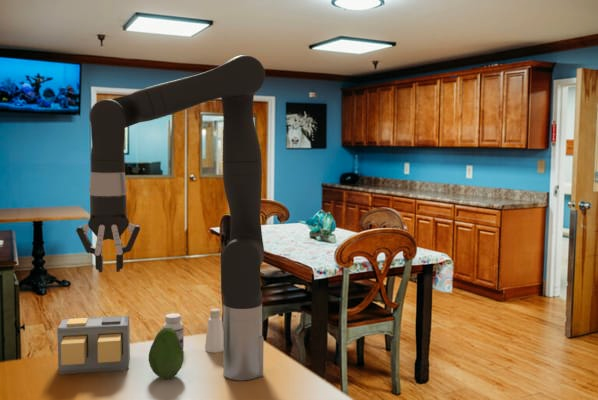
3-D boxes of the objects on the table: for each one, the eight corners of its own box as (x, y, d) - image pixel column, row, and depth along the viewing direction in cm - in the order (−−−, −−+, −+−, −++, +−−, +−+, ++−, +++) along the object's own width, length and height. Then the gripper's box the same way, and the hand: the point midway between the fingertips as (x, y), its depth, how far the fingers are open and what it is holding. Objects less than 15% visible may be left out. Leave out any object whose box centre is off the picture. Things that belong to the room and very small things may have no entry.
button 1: (88, 351, 144) (88, 331, 144) (84, 363, 137) (83, 342, 136) (66, 353, 143) (66, 333, 143) (61, 365, 135) (60, 344, 135)
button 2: (122, 349, 146) (122, 329, 146) (120, 361, 138) (119, 340, 138) (101, 350, 145) (100, 331, 145) (97, 362, 137) (97, 341, 137)
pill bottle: (160, 348, 158) (160, 313, 158) (180, 346, 161) (180, 311, 160) (165, 355, 154) (165, 319, 153) (185, 352, 156) (185, 317, 155)
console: (129, 357, 152) (129, 313, 151) (128, 369, 144) (127, 323, 143) (63, 361, 148) (62, 316, 147) (58, 374, 140) (57, 326, 139)
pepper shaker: (203, 352, 156) (203, 312, 155) (206, 345, 162) (207, 306, 160) (223, 353, 156) (223, 312, 155) (226, 346, 161) (226, 307, 160)
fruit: (149, 385, 134) (148, 334, 133) (148, 372, 142) (147, 324, 141) (184, 382, 137) (184, 332, 135) (182, 369, 144) (182, 322, 143)
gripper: (142, 191, 133) (143, 266, 134) (76, 191, 129) (77, 269, 131) (141, 194, 125) (142, 274, 127) (71, 194, 122) (73, 276, 124)
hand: (109, 271), depth 129 cm, fingers open, 3 cm apart
